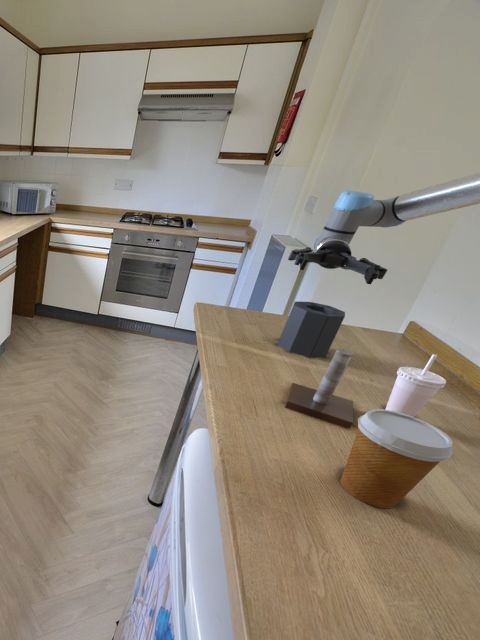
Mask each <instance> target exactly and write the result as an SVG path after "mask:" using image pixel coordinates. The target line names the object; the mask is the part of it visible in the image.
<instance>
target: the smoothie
mask: <svg viewBox="0 0 480 640" xmlns="http://www.w3.org/2000/svg"><path fill="white" fill-rule="evenodd" d="M437 357H438V354H435V353H432V355H431V357H430V358H429V360H428V362H427V363H426V365H425V367H424V368H417V367H414V366H400V367H399V368H398V369H397V370H396V374H397V377H396V379H395V382H394V385H393V387H392V390H391V393H390V395H389V398H388V401H387V404H386V406H385V409H384V410H390V411H395V412H399V413H403V414H406V415H409V416H412V417H414V418H416V417H415V416H417V414H419V412H420V411H421V410H422V409H423V408H424V407H425V406H426V404H427V403H428V402H429V401H430V400H431V399H432V398H433V397H434V396H435V394H436V393H437V392H438V391H439V390H440V389H442V388H445V385H446V384H447V379H445V378H444V377H443V376H441V375H439V374H437V373H434V372H432V371H429V370H430V368H431V366H432V365H433V364H434V362H435V360H436V358H437Z"/></svg>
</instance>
